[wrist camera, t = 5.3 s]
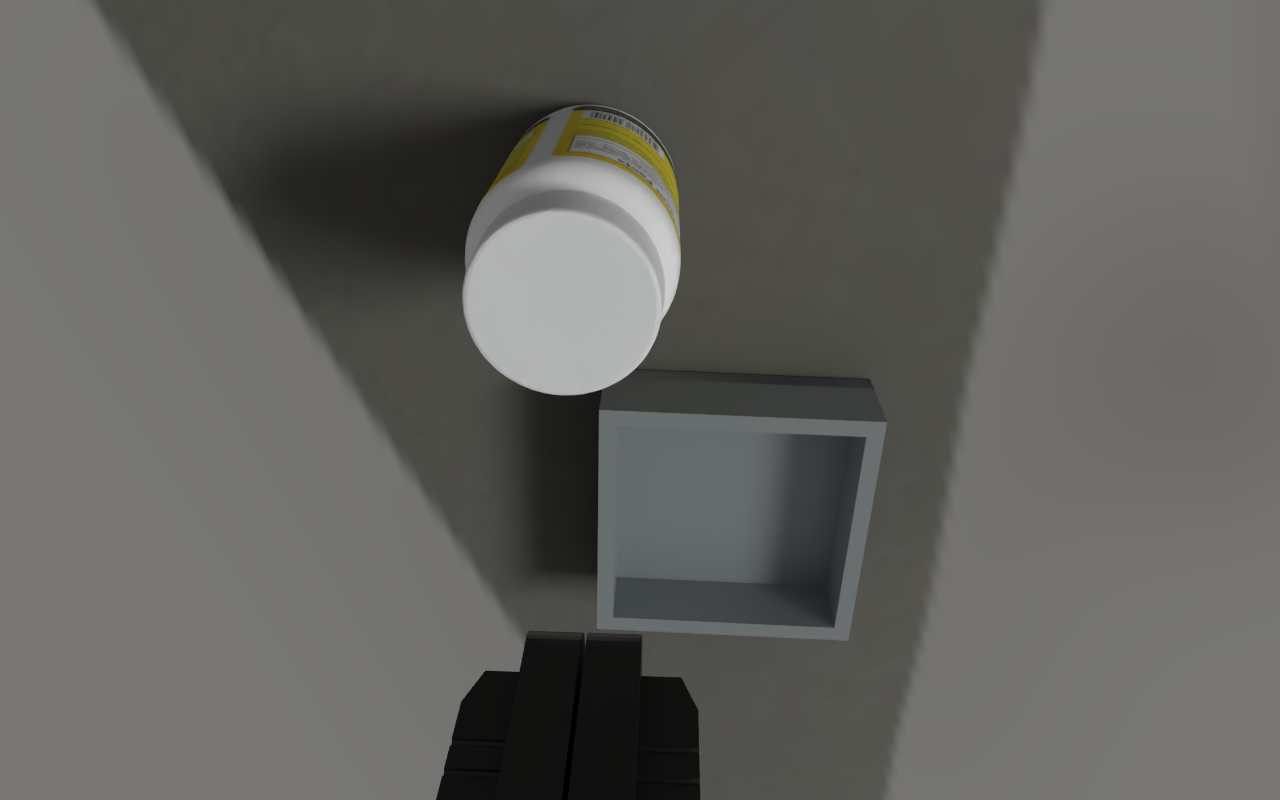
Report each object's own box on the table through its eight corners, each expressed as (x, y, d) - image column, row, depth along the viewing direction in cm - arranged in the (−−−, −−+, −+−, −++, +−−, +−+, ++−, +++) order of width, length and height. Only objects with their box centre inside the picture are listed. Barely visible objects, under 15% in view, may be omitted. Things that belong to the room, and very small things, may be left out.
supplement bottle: (536, 287, 27) (484, 434, 20) (482, 127, 25) (400, 224, 18) (697, 249, 26) (705, 386, 19) (656, 80, 24) (646, 161, 17)
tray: (605, 368, 28) (599, 410, 26) (870, 379, 28) (887, 422, 26) (602, 576, 32) (597, 628, 30) (835, 587, 32) (848, 640, 30)
